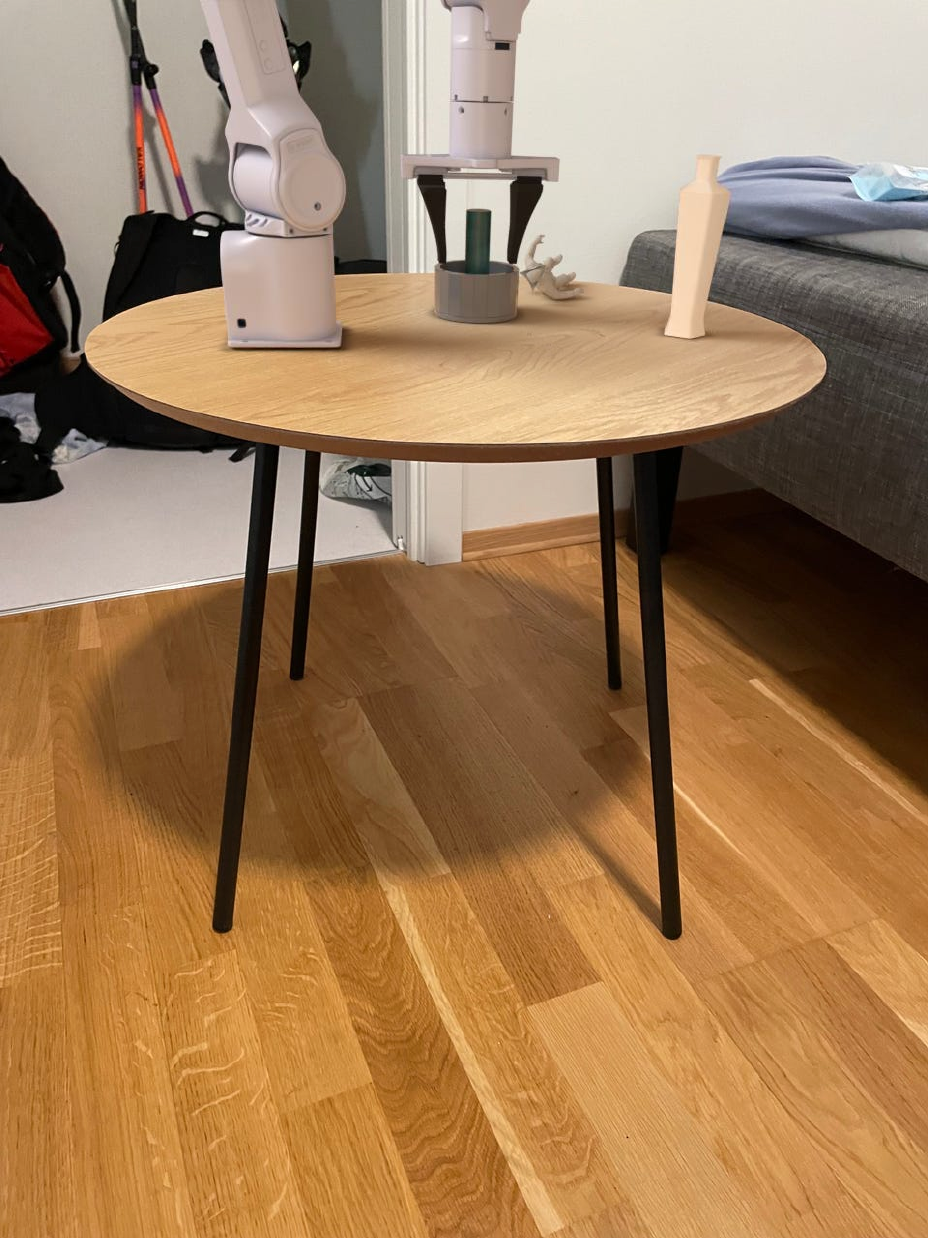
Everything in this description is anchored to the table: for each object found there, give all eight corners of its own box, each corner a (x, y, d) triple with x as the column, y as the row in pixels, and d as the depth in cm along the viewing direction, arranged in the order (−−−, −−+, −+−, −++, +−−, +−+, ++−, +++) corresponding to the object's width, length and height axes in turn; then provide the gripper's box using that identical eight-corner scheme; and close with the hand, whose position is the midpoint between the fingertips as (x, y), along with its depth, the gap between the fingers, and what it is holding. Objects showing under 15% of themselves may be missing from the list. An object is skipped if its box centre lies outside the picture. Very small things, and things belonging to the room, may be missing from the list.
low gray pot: (437, 322, 89) (437, 274, 87) (431, 304, 96) (432, 259, 94) (522, 323, 90) (524, 275, 87) (510, 304, 97) (512, 259, 94)
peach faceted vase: (709, 341, 85) (738, 158, 78) (660, 337, 86) (684, 156, 78) (708, 329, 89) (735, 154, 82) (661, 326, 90) (684, 152, 82)
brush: (460, 312, 91) (462, 212, 86) (457, 304, 94) (459, 207, 89) (495, 312, 91) (499, 212, 87) (490, 304, 94) (494, 207, 90)
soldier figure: (593, 296, 106) (586, 280, 95) (559, 324, 107) (548, 312, 96) (551, 241, 106) (539, 218, 94) (517, 270, 107) (502, 251, 95)
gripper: (402, 100, 79) (403, 268, 86) (570, 105, 81) (558, 270, 88) (399, 98, 85) (400, 255, 92) (555, 102, 87) (545, 257, 94)
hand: (477, 262), depth 90 cm, fingers open, 6 cm apart
